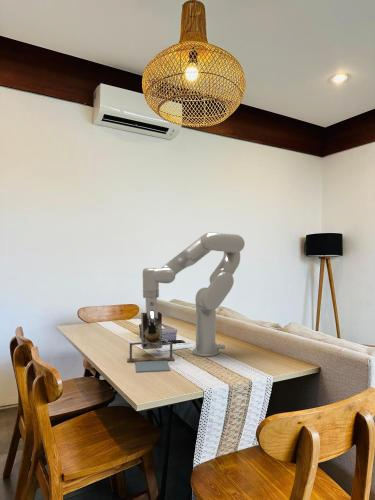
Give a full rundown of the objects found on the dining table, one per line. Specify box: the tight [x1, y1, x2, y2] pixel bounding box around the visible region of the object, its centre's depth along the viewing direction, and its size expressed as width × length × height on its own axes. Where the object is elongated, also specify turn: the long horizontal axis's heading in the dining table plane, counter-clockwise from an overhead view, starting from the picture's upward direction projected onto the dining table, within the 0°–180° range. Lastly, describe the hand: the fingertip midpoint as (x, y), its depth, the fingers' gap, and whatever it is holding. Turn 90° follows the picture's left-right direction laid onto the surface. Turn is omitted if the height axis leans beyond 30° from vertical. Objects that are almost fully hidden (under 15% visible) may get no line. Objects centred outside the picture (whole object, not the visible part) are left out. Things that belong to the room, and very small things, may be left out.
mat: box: [135, 361, 171, 373], centre depth 146 cm, size 14×12×1 cm
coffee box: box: [140, 311, 163, 350], centre depth 163 cm, size 9×6×16 cm
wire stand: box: [126, 341, 176, 364], centre depth 154 cm, size 21×4×8 cm, turn 98°
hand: (151, 331), depth 163 cm, fingers closed on coffee box, 6 cm apart
